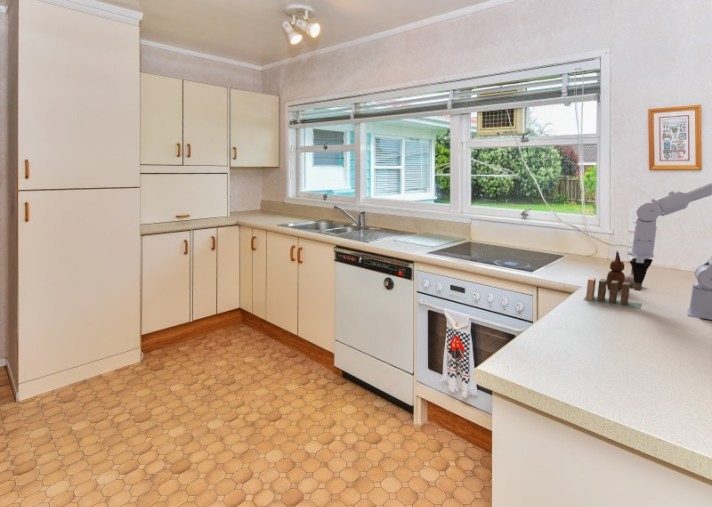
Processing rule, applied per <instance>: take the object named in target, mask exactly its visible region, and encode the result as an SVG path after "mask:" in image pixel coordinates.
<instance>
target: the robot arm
mask: <svg viewBox="0 0 712 507" xmlns="http://www.w3.org/2000/svg"><path fill="white" fill-rule="evenodd" d="M667 193H668V194H667V195H664V196H662V197H659V198H656V199H655V198H651V200H650V201H651V202H644V203H641V205H639V206H638V208H637V209H636V215H637V218H636V220H635V226H634V234H633V242H632V251H628V252H627V255H628V256H631V257H633V258H632V259H631V260H630V261H629V263H630V265H631V270H632V269H633V275H634V283H642V284H643V282H644V280H645V278H646V275H647V271H648V269H649V268H650V266H651V265H652V262H653V258H654V257H655V256H654V251H655V250H654V249H655V243H656V236H657V234H656V233H657V219H658V217H660V216H661V217H665V216H667V215H668V216H669V215H671V214H673V213H676V212H679V211H682V210H685V209H686V208H688V206H689V204H690V203H692V202H694V201H695V202H696V201H697V200H700V199H704V198H707V197H710V196H712V182H710V183H708V184H705V185H703V186H699V187H698V188H695V189H693V190H690V191H687V192H683V191H678V190H677V191H674V190H673V191H672V190H671V191H669V192H667ZM694 275H695V276H694V277H695V278H696V282H694V283H693V284H692V288H691V297H690V302H689V303H690V304H689V308H687V313H686V314H687V315H686V316H687V317H691V318H692V317H693V318H699V319H705V320H710V321H711V320H712V256H710V257H709V258H708V259H707V260H706V261H705V263H703V264H701V265H699V266H697V268H696V270H695V273H694Z"/></svg>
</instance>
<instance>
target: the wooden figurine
mask: <svg viewBox="0 0 712 507" xmlns="http://www.w3.org/2000/svg"><path fill="white" fill-rule="evenodd" d="M609 269H610V271H609V272H608V273H607V276H606V279H607V285H606V289H607V290H609V291H610V284H611V282H612V280H615V281H619V282H618V290H617V292H620V291H621V292H622V284H623V283H624V281H625V275H626V274H625V273H624V272H623V271H624V270H625V263H624V262H623V261H621V257H620V252H618V250H616V254H615V259H614V260H612V261H610V264H609Z"/></svg>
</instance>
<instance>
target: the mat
mask: <svg viewBox="0 0 712 507" xmlns="http://www.w3.org/2000/svg"><path fill="white" fill-rule="evenodd" d="M583 301H586V302H593V303H598V304H604V305H609V306H610V305H611V306H616V307H617V306H618V307H622V308H630V309H636V310H641V308H642V306H643V303H640V302H633V301H628V304H627V306H625V305H620V301H621V299H616V302H615V304H613V303H608V302H609V297H608V298H606V297H605V300H604V301H603V302H600V301H597V296H595V295H594V298H593V299H592V300H587V299H586V296H585V297H584V299H583Z"/></svg>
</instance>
